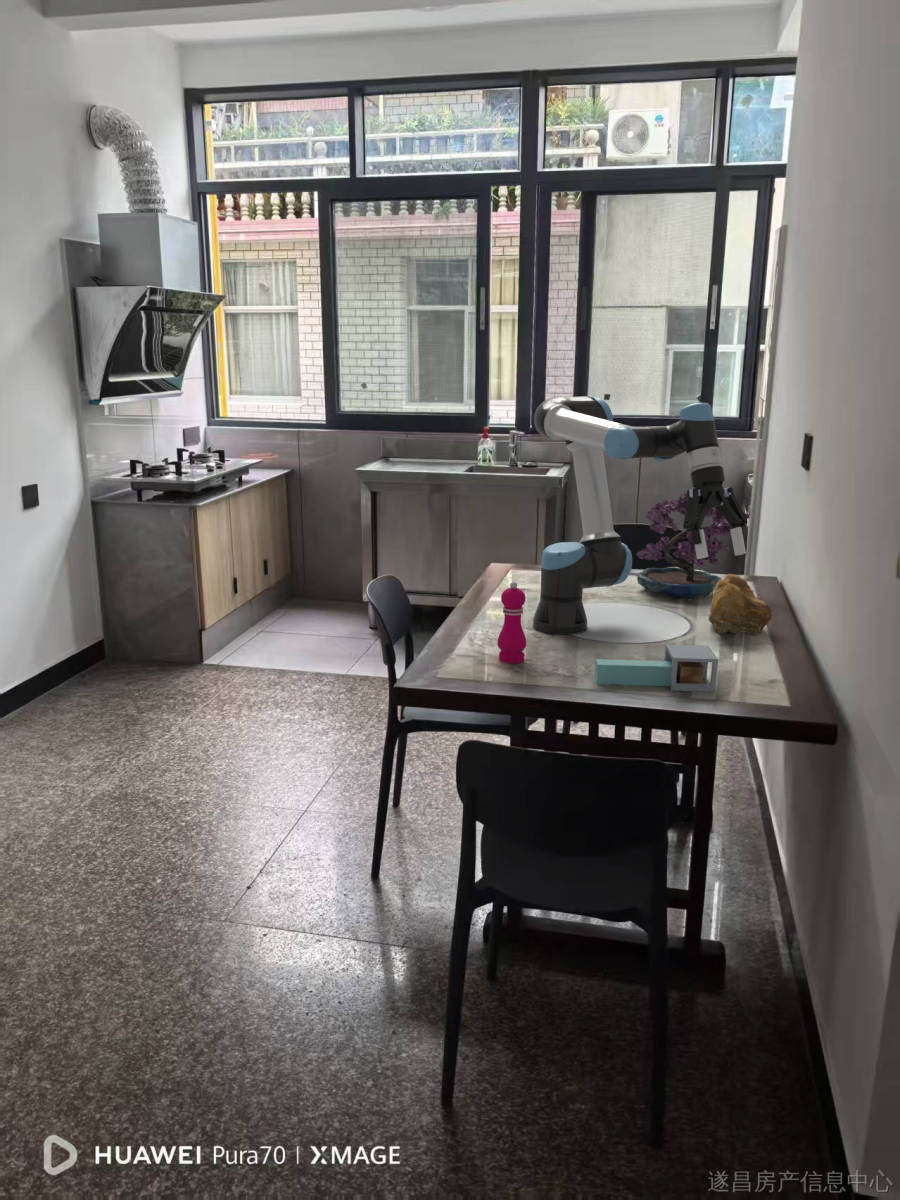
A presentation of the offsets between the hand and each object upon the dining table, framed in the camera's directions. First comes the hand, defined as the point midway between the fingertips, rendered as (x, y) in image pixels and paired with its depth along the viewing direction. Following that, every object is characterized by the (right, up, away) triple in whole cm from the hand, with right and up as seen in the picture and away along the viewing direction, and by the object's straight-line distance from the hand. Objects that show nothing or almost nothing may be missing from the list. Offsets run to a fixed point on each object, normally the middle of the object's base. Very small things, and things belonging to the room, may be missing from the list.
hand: (721, 556), depth 215 cm
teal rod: (-21, -30, -2) cm, 36 cm away
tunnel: (-9, -30, -3) cm, 31 cm away
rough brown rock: (+17, -19, +41) cm, 48 cm away
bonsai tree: (+13, -8, +82) cm, 83 cm away
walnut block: (-9, -30, -3) cm, 31 cm away
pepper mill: (-49, -25, +13) cm, 56 cm away
